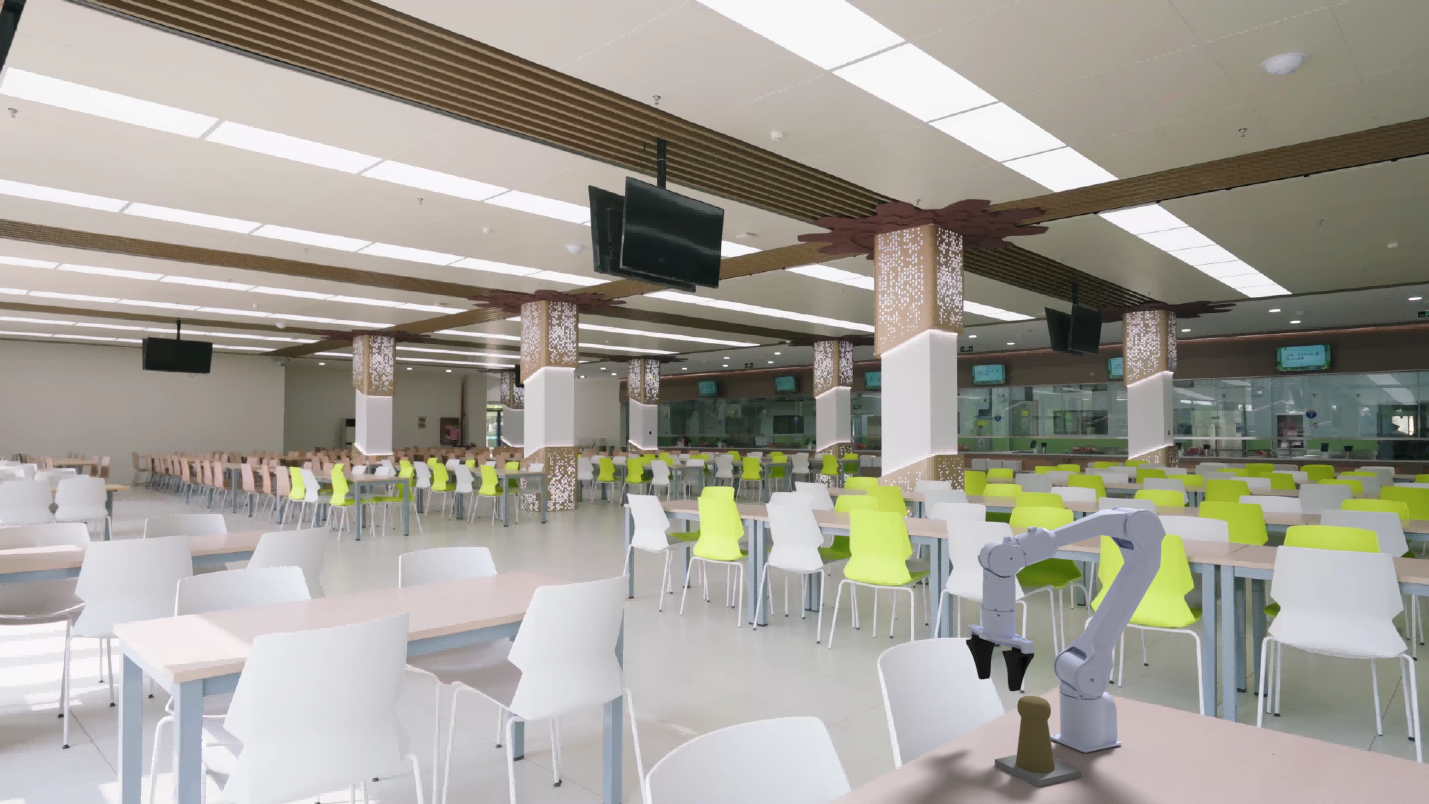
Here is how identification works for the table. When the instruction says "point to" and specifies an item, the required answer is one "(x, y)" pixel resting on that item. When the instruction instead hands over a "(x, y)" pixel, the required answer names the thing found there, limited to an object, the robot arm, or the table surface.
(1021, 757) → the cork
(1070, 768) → the mat
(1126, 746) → the table surface
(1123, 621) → the robot arm
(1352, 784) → the table surface
